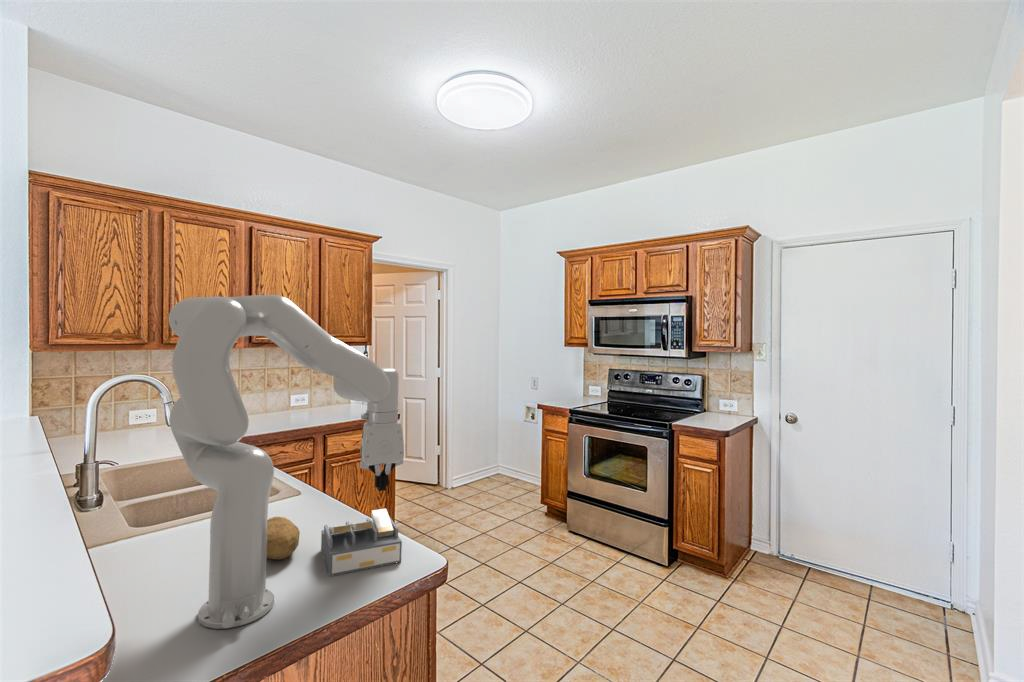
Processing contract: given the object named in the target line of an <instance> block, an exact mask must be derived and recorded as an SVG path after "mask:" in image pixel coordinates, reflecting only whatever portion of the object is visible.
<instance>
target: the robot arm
mask: <svg viewBox="0 0 1024 682" xmlns="http://www.w3.org/2000/svg"><path fill="white" fill-rule="evenodd" d="M168 324H169V327H170V329H171V331H172V332H173V333H174V334H175V335H176V336H177V337H179V338H178V341H177V343H176V344H175V348H174V351H173V355H172V359H171V369H172V370H171V371H172V375H173V378H174V381H175V384H176V386H177V389H178V393H179V395H180V397H179V398H178V399H177V400H176V401H175V402H174V404H173V405H172V407H171V410H170V412H169V413H170V414H169V425H170V430H171V432H172V435H173V437H174V440H175V441H176V444H177V446H178V448H179V451H180V454H182V458H183V460H184V461H185V463H186V466H187V468H188V470H189V472H190V473H191V475H192V477H193V478H194V480H195V481H197V482H198V483H200V484H202V486H204V487H205V486H206V487H207V488H210V489H212V490H215V491H216V492H217V493H216V500H215V502H214V505H213V508H212V511H211V517H210V523H209V525H210V527H209V531H210V532H209V537H210V538H209V563H208V564H209V571H208V600H207V601H206V602H205V603H203V604H202V605H201V607H200V608H199V609H198V613H197V616H198V617H197V618H198V622H199V624H200V625H201V626H204V627H206V628H209V629H215V630H216V629H217V630H221V629H230V628H237V627H241V626H244V625H247V624H250V623H252V622H255V621H257V620H258V619H260V618H262V617H264V616H265V615H266V614H267V613H268V612H269V611H270V610H271V609H272V608H273V606H274V603H275V596H274V595H275V594H274V593H273V592H272V591H271V590H269V589H267V587H266V586H267V585H266V583H267V559H268V558H267V520H268V519H269V518H268V515H269V514H268V513H269V500H270V495H271V490H272V485H273V481H274V475H275V468H274V467H275V466H274V462H273V460H272V458H271V456H270V454H268V453H267V452H266V451H264V450H263V449H261V448H259V447H258V446H255V445H253V444H252V445H251V444H247V443H244V442H239V441H240V440H242V438H244V437H245V435H246V433H247V431H248V428H249V424H250V423H249V421H250V420H249V415H248V412H247V409H246V407H245V404H244V402H243V400H242V397H241V394H240V392H239V389H238V387H237V384H236V382H235V379H234V376H233V373H232V370H231V366H230V356H231V353H232V349H233V347H234V345H235V344H236V342H237V341H238V339H239V338H243V337H250V336H251V337H252V336H257V337H258V336H259V337H265V338H268V340H269V341H271V342H273V343H274V344H275V345H277V346H278V347H279V348H280V349H282V350H283V351H284V352H285V353H287V354H288V355H289V356H290V357H292V358H293V359H295V360H296V361H297V362H298V363H299V364H301V365H303V366H305V367H306V368H308V369H311V370H313V371H315V372H319V373H323V374H325V375H328V376H331V377H334V379H333V384H332V385H333V390H334V392H335V393H336V395H337V396H339V397H340V398H342V399H345V400H350V401H355V402H362V403H366V412H365V413H361V414H360V419H361V420H365V421H366V422H363V423H364V424H363V427H362V433H361V439H360V440H361V443H360V452H359V453H360V463H359V467H360V468H359V469H362V470H370V471H371V472H372V473H373V474H374V487H375V488H376V489H377V491H378V492H382V491H383V492H386V491H387V487H388V486H389V475H390V474H391V471H393V469H394V468H395V467H398V466H401V465H403V464H404V458H405V449H404V448H405V443H404V433H403V431H404V430H403V425H402V422H401V421H399V380H400V379H399V377H400V376H399V372H398V370H397V369H396V368H393V367H392V368H391V367H380V366H379V365H378V364H377V363H376V362H374V361H373V360H372V359H371V358H369V356H366V355H365V354H363V353H362V352H361V351H358V350H356V349H355V348H354V347H352V346H350V345H348V344H346V343H345V342H343V341H342V340H339V339H338V338H336V337H334V336H332V335H331V334H330V333H328V332H327V331H326V330H325V329H323V328H322V327H321V326H320V325H319V324H318V323H317V322H316V321H314V320H313V318H311V316H309V315H308V314H307V313H306V312H304V311H303V310H302V309H301V308H300V307H299V306H297V304H295V303H294V302H293V301H292V300H290V299H289V298H287V297H285V296H282V295H281V294H280V295H279V294H259V295H258V294H255V295H243V296H216V295H215V296H213V295H212V296H201V297H198V296H197V297H188V298H184V299H182V300H179V301H178V302H177V303H176V304H174V305H173V306H172V308H171V309H170V312H169V314H168ZM380 465H382V471H381V466H380Z"/></svg>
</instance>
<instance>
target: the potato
mask: <svg viewBox="0 0 1024 682" xmlns="http://www.w3.org/2000/svg"><path fill="white" fill-rule="evenodd" d="M300 534H301V533H300V530H299V528H298V526H297V525H296V524H294V523H293V521H291V520H290V519H288V518H286V517H285V516H274V517H270V518H267V558H266V559H269V560H282V561H283V560H284V559H286V558H288V557H289V556H292V555H293V553H294V552H295V551H296V549H297V548H298V546H299V543H300Z"/></svg>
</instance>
